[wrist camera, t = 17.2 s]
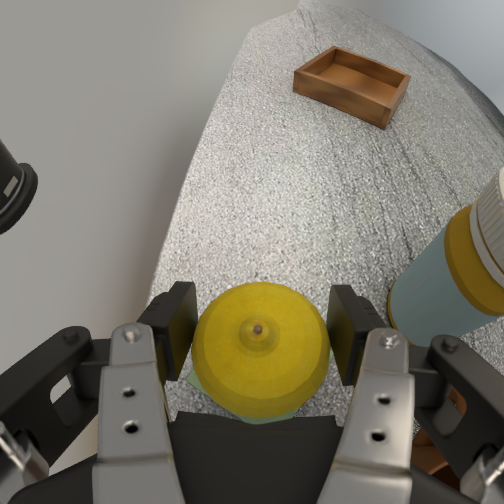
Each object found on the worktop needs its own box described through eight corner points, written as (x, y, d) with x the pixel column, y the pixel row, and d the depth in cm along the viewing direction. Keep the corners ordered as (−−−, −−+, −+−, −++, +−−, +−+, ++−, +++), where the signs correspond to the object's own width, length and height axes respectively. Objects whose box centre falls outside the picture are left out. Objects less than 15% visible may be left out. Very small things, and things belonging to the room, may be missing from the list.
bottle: (438, 269, 24) (536, 163, 10) (457, 340, 21) (585, 268, 7) (376, 278, 24) (469, 151, 10) (393, 358, 20) (533, 291, 7)
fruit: (302, 420, 13) (342, 440, 6) (198, 399, 14) (141, 398, 7) (319, 322, 16) (364, 257, 9) (222, 304, 17) (193, 228, 10)
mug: (369, 379, 20) (432, 364, 12) (445, 391, 19) (522, 376, 10) (322, 517, 15) (355, 574, 6) (405, 519, 13) (465, 556, 5)
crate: (292, 91, 37) (294, 70, 33) (331, 62, 41) (333, 45, 38) (384, 130, 33) (391, 109, 30) (405, 93, 38) (411, 76, 34)
